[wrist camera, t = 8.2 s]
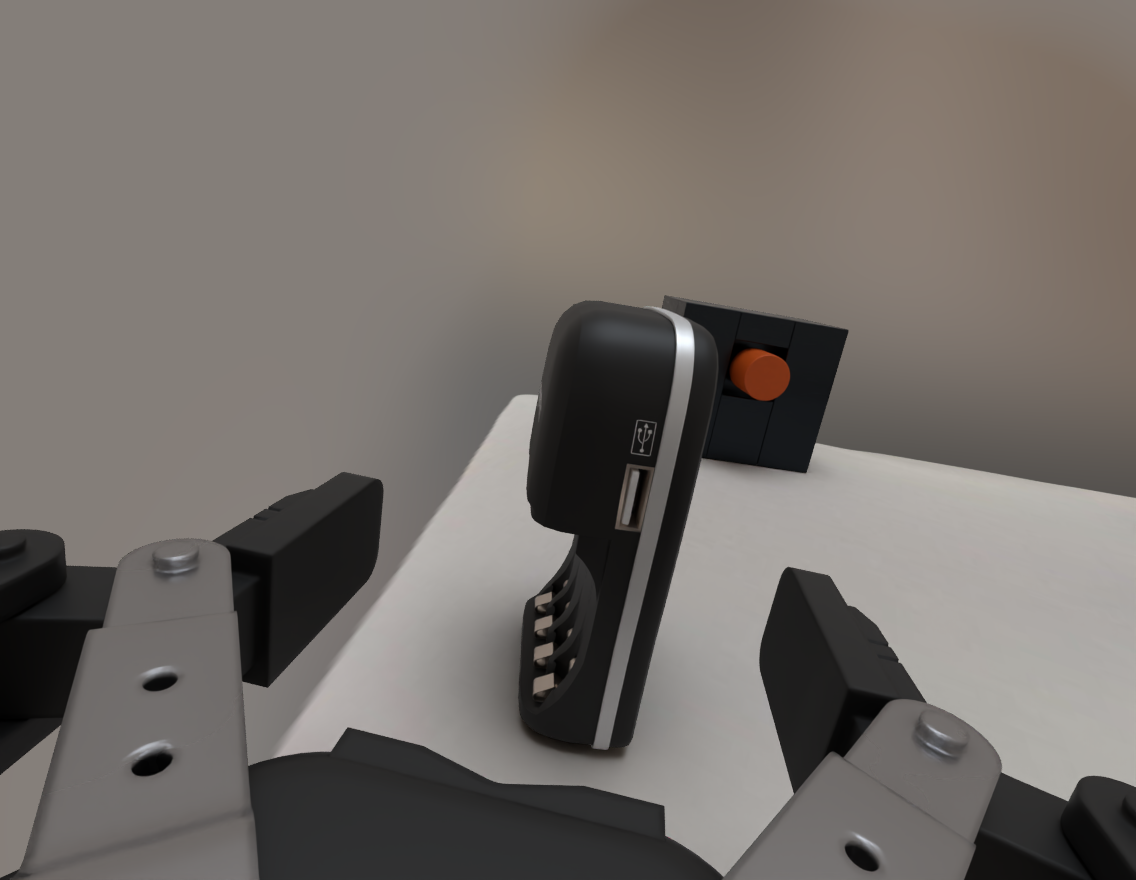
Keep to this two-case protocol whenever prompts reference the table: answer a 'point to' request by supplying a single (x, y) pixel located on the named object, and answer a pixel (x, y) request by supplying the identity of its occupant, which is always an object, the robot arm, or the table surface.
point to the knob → (759, 374)
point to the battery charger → (610, 509)
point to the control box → (780, 424)
